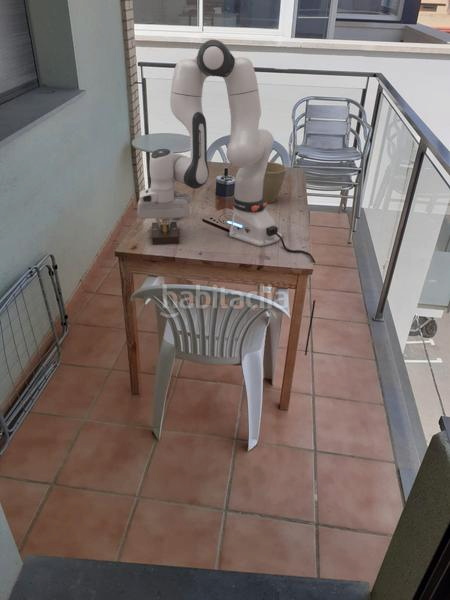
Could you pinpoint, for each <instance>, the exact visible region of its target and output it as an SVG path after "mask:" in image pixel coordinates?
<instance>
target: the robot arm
mask: <svg viewBox="0 0 450 600" xmlns="http://www.w3.org/2000/svg"><path fill="white" fill-rule="evenodd" d="M208 77H219V78H222V79H223V80H224V82H225V86H226V87H225V88H226V92H227V99H228V107H229V113H230V134H229V143H228V146H227V148H226V160H227V161H228V163H229V165H231V166H232V167H233V168H236V169H238V171H237V173H236V174H235V177H234V196H233V199H232V206H233V211H232V217H231V221H230V220H227V223H228V224H230V225H229V229H228V230H229V232H228V236H229V237H231V238H233V239H237V240H240V241H242V242H245V243H248V244H251V245H254V246H258V247H264V246H269V245H272V244H274V243H277V242H278V241H281V244H282V247H283V248H284V249H285V251H287V252H290V253H303V254H305V255H308V256H309V257H310V259H311V261H312V263H313V264H316V260H315V258H314V256H313V255H312V254H311V253H309V252H308V251H305V250H301V249H294V250H293V249H289V248H288V247H286V245H285V241H284V239H283V234H282V233H281V232H279V231H278V230H279V229H278V227H277V222H276V220H275V219H274V217H273V216H272V215H271V214H270V213H269V212H268V210H267V209H266V206H268V203H267V202H266V203H264V199H263V197H262V195H263V183H264V176H265V172H266V168H267V164H268V162H269V160H270V157H271V153H272V151H273V149H274V146H275V140H274V136H273V133H271V132H270V131H269V130H268V129H264V128H259V124H260V118H261V116H262V107H261V97H260V91H259V85H258V79H257V75H256V71H255V67H254V64H253V62H252V60H251V59H250V58H248V57H245V56H238V57H234V54H232V53H231V51H230V50H229V48H228V47H227V46H226V44H225V43H223V42H222V41H220V40H218V39H209V40H207V41H205V42H203V43H202V44H201V46H200V47H199V49H198V52H197V55H196V57H195V58H192V59H191V58H183V59H180V60H179V61H178V62H177V63H176V65H175V67H174V71H173V75H172V81H171V88H170V99H169V100H170V102H169V103H170V110H171V113H172V114H173V116H174V117H175V118H176V119H177V120H178V121H179V122H180V123H181V124H182V125H183V126H184V127H185V128H186V130H187V131H188V135H189V137H190V138H189V140H190V142H189V143H190V157H188V156H187V155H184V154H180V153H175V152H173V151H171V150H170V149H169V148H159V149H155V150H154V151H152V152H151V153H150V157H149V176H150V180H151V181H150V187H149V188H146V189H143V190H140V192H139V199H138V202H137V218H138V219H139V220H146V219H147V220H149V219H150V220H151V219H155V222H157V223H158V224H159V228H163V223H161V222H162V221H160V219H164V218H169V220H168V221H166V226H167V228H170V224H171V222H173V221H174V220H173V218H179V219H180V218H189V217H190V216H191V210H190V209H191V208H190V204H191V201H192V200H191V196H190V195H189V194H188V193H186V192H185V193H180V194H175V191H176V190H175V183H176V182H180V183H182V184H184V185H186V186H188V187H189V188H191V189H193V190H194V189H195V190H197V189H200V188H201V187H203V186H204V185H205V184H206V183H207V182H208V179H209V175H210V171H209V163H208V141H207V139H208V136H207V134H208V133H207V129H208V128H207V120H206V117H205V115H204V112H203V111H204V110H203V105H202V104H203V103H202V102H203V100H202V99H203V90H204V89H203V88H204V83H205V82H206V79H207V78H208ZM315 306H316V299H314V300H313V301H312V309H311V315H310V320H309V326H308V331H307V336H306V337H307V338H306V344H305V351H304V356H307V354H308V349H309V341H310V335H311V329H312V324H313V318H314V312H315Z"/></svg>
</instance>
